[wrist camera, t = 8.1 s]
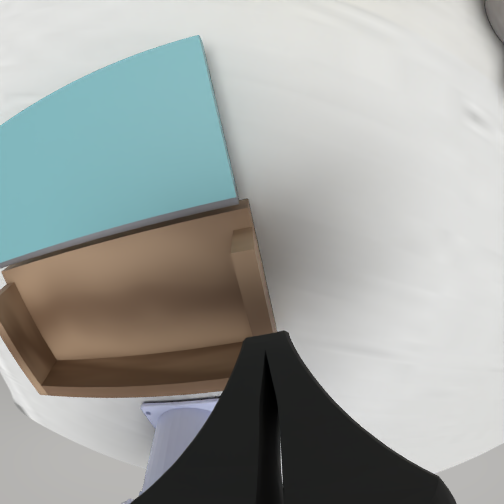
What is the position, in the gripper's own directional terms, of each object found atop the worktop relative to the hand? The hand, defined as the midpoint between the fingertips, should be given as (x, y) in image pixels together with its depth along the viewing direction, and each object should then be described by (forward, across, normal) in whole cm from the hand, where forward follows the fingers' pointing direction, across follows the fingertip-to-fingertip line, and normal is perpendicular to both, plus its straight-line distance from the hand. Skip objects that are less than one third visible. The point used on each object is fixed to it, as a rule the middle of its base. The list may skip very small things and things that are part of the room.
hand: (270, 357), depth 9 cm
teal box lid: (+7, +9, -4) cm, 12 cm away
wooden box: (+9, +9, +2) cm, 13 cm away
